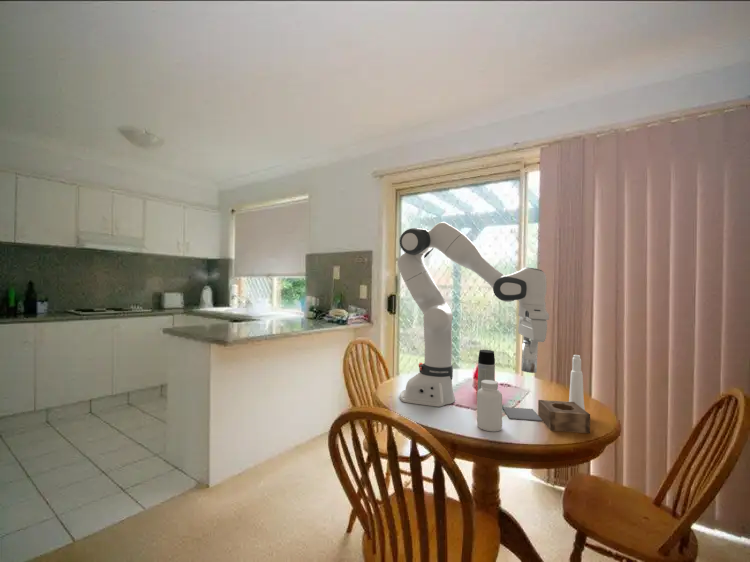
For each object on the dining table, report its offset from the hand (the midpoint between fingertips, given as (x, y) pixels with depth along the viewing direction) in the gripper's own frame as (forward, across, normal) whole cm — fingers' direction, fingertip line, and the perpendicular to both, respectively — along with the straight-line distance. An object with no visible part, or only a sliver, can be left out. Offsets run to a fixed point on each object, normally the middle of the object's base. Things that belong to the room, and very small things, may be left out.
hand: (529, 350), depth 123 cm
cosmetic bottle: (+23, -4, +19) cm, 30 cm away
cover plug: (+8, 0, 0) cm, 8 cm away
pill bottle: (+25, +13, -15) cm, 32 cm away
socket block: (+23, +6, +10) cm, 26 cm away
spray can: (+25, -16, -11) cm, 32 cm away
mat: (+24, -1, -1) cm, 24 cm away
